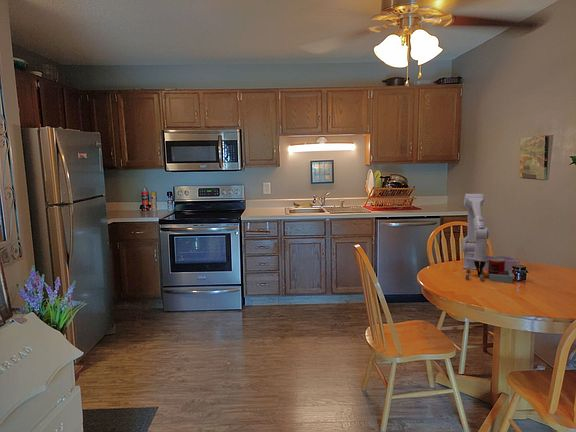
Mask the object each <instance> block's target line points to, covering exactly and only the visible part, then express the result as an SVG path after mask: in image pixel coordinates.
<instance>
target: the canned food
mask: <svg viewBox="0 0 576 432" xmlns="http://www.w3.org/2000/svg"><path fill="white" fill-rule="evenodd" d="M504 270H505V259H504V258H500V257H490V258H489V268H488V270H487V275H488V276H487V277H488V279H489V274H497V275H504Z"/></svg>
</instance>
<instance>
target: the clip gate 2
mask: <svg viewBox="0 0 576 432" xmlns="http://www.w3.org/2000/svg"><path fill="white" fill-rule="evenodd" d="M484 276H485V275H484V269H482V272H481V275H479V282H484Z"/></svg>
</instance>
